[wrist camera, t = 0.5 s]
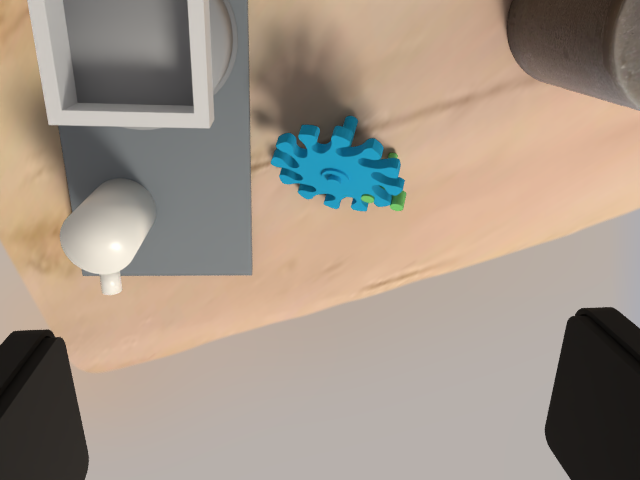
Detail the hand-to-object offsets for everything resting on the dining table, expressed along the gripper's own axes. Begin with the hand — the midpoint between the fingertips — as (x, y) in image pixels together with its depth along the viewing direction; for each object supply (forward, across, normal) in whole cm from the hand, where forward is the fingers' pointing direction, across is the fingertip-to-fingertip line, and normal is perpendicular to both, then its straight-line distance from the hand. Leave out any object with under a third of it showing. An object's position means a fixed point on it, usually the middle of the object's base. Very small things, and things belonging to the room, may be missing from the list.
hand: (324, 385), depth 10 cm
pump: (+32, +13, +7) cm, 36 cm away
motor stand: (+33, +10, +1) cm, 35 cm away
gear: (+34, -4, +4) cm, 34 cm away
